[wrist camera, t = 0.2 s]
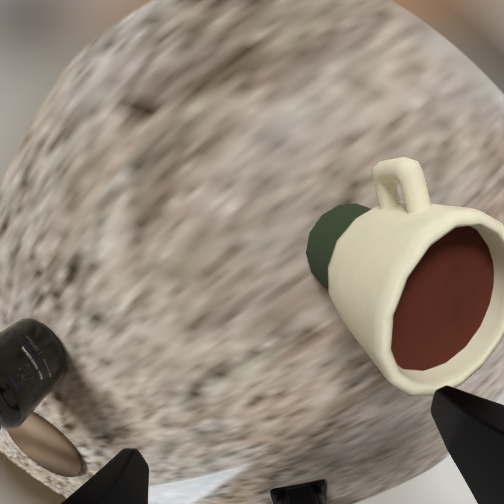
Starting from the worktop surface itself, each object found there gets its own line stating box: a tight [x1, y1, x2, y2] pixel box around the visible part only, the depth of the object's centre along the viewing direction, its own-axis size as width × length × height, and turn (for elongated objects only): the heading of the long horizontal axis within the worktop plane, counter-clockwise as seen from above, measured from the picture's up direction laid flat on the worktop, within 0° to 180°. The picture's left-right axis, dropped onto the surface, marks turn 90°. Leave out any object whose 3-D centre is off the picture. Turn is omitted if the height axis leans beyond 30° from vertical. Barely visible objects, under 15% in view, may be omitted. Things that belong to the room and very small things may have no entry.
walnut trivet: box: [7, 412, 82, 477], centre depth 24 cm, size 12×12×1 cm
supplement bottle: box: [0, 319, 66, 429], centre depth 16 cm, size 7×7×12 cm
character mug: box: [306, 157, 504, 396], centre depth 14 cm, size 11×7×13 cm, turn 18°
